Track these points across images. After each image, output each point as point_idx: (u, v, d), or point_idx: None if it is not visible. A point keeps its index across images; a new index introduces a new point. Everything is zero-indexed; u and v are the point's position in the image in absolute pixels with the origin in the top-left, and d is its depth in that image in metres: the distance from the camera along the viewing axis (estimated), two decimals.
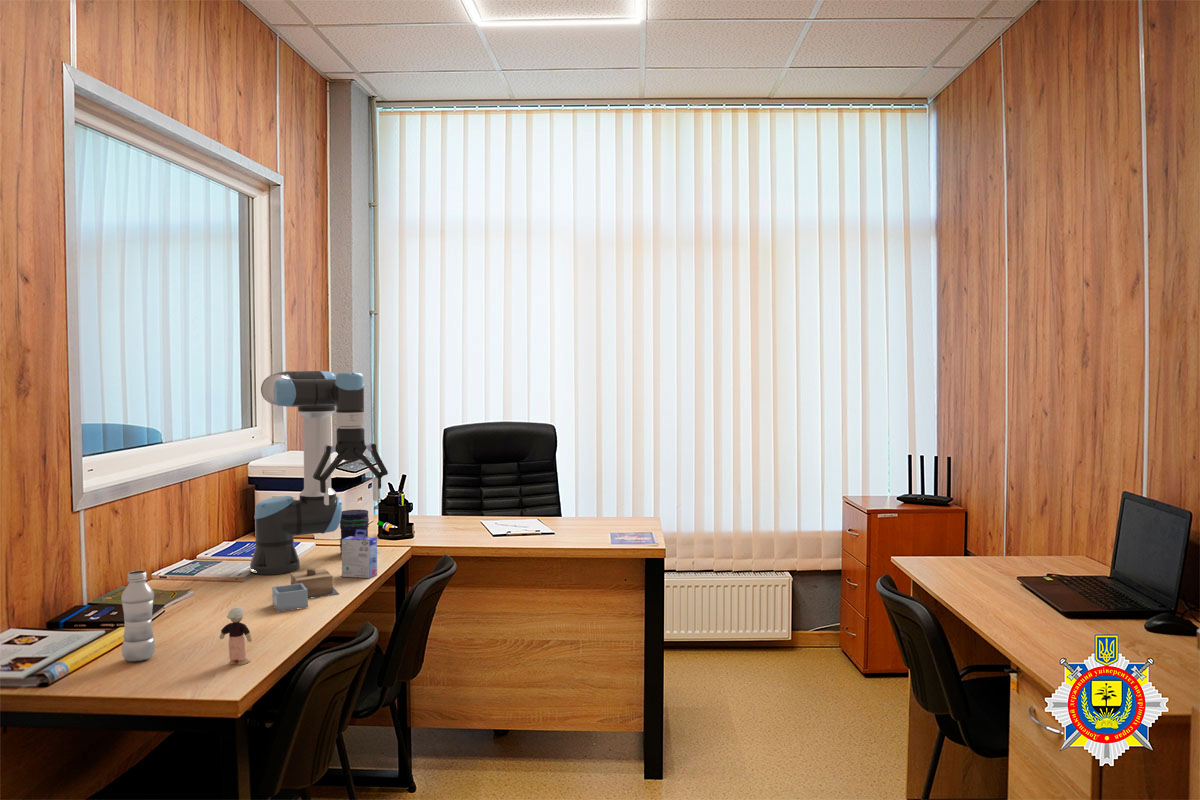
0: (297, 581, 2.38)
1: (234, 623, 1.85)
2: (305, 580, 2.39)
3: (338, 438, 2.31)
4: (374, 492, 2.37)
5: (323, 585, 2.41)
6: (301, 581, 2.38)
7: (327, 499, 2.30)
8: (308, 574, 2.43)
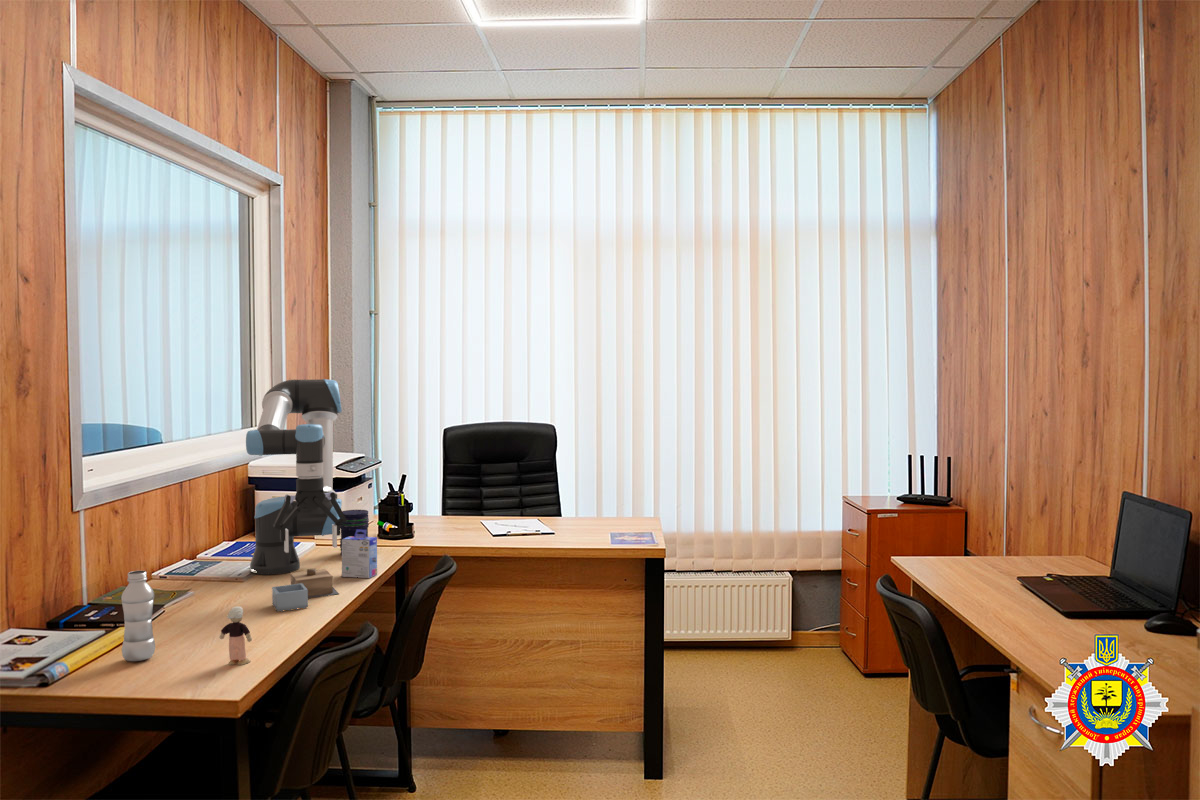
0: (297, 581, 2.38)
1: (234, 623, 1.85)
2: (305, 580, 2.39)
3: (298, 488, 2.40)
4: (333, 538, 2.47)
5: (323, 585, 2.41)
6: (301, 581, 2.38)
7: (287, 547, 2.39)
8: (308, 574, 2.43)
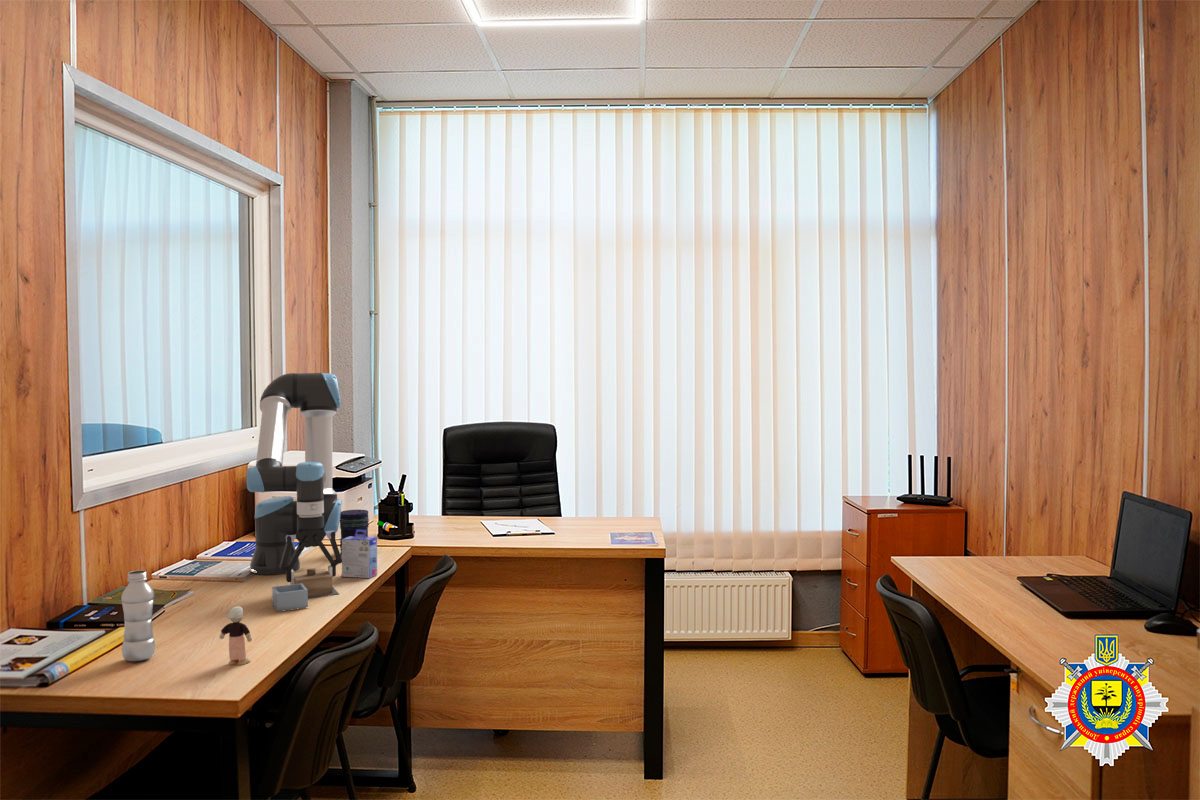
0: (297, 581, 2.38)
1: (234, 623, 1.85)
2: (305, 580, 2.39)
3: (298, 526, 2.41)
4: None
5: (323, 585, 2.41)
6: (301, 581, 2.38)
7: None
8: (308, 574, 2.43)
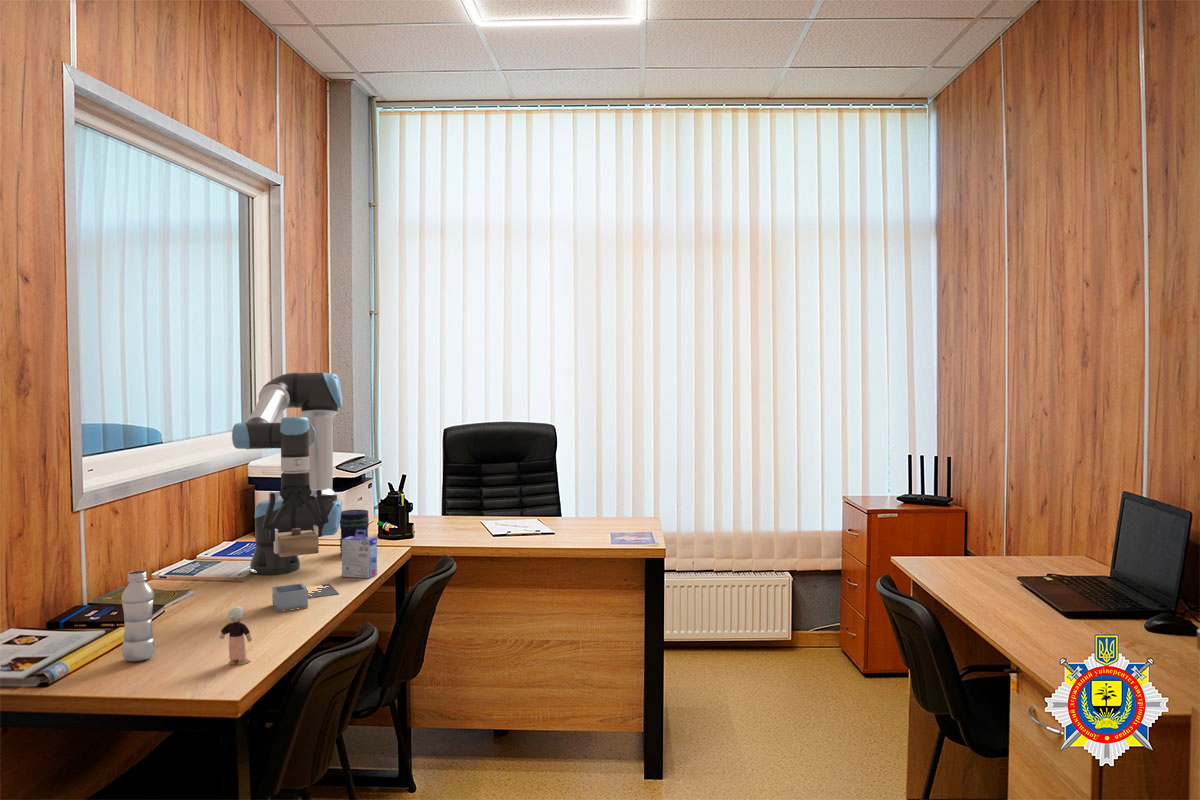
0: (281, 539, 2.27)
1: (234, 623, 1.85)
2: (289, 539, 2.28)
3: (283, 483, 2.30)
4: None
5: (309, 544, 2.30)
6: (285, 540, 2.27)
7: (276, 548, 2.29)
8: (293, 533, 2.32)
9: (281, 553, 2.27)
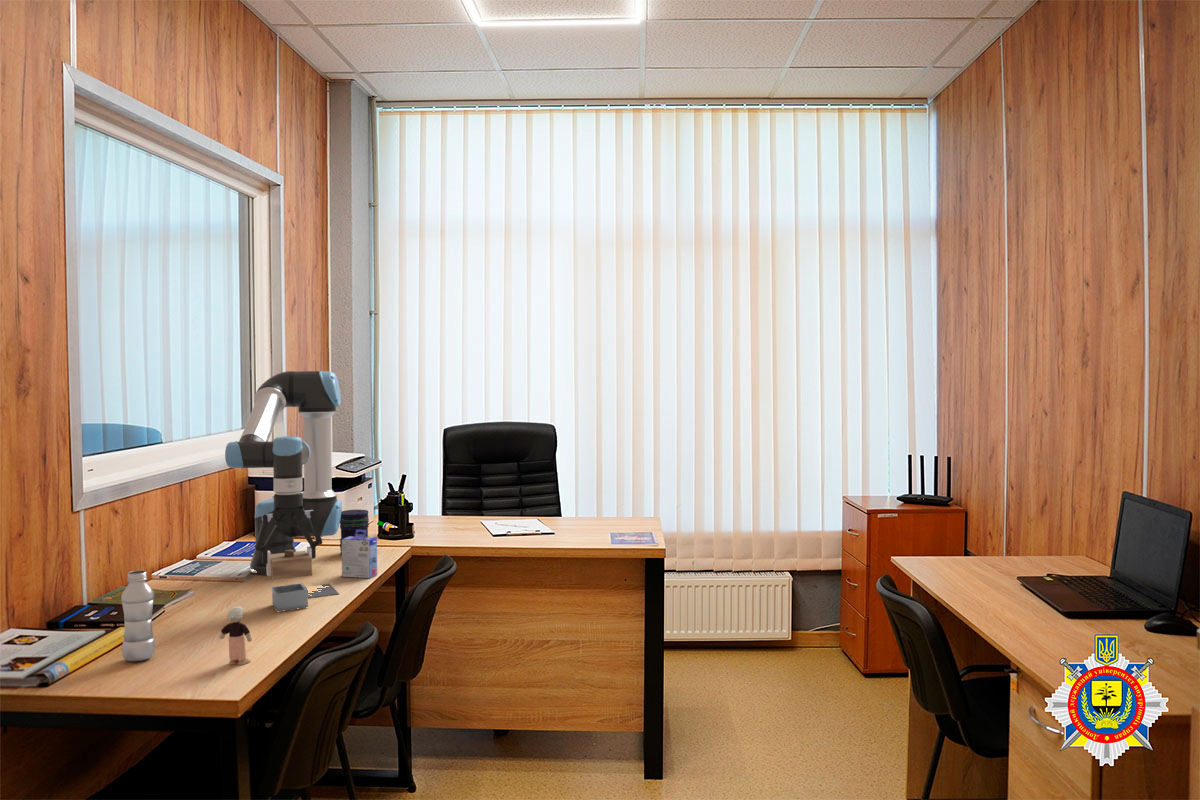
0: (273, 562, 2.23)
1: (234, 623, 1.85)
2: (282, 561, 2.24)
3: (275, 505, 2.26)
4: None
5: (302, 566, 2.26)
6: (278, 562, 2.23)
7: (269, 570, 2.26)
8: (286, 555, 2.28)
9: (273, 576, 2.23)
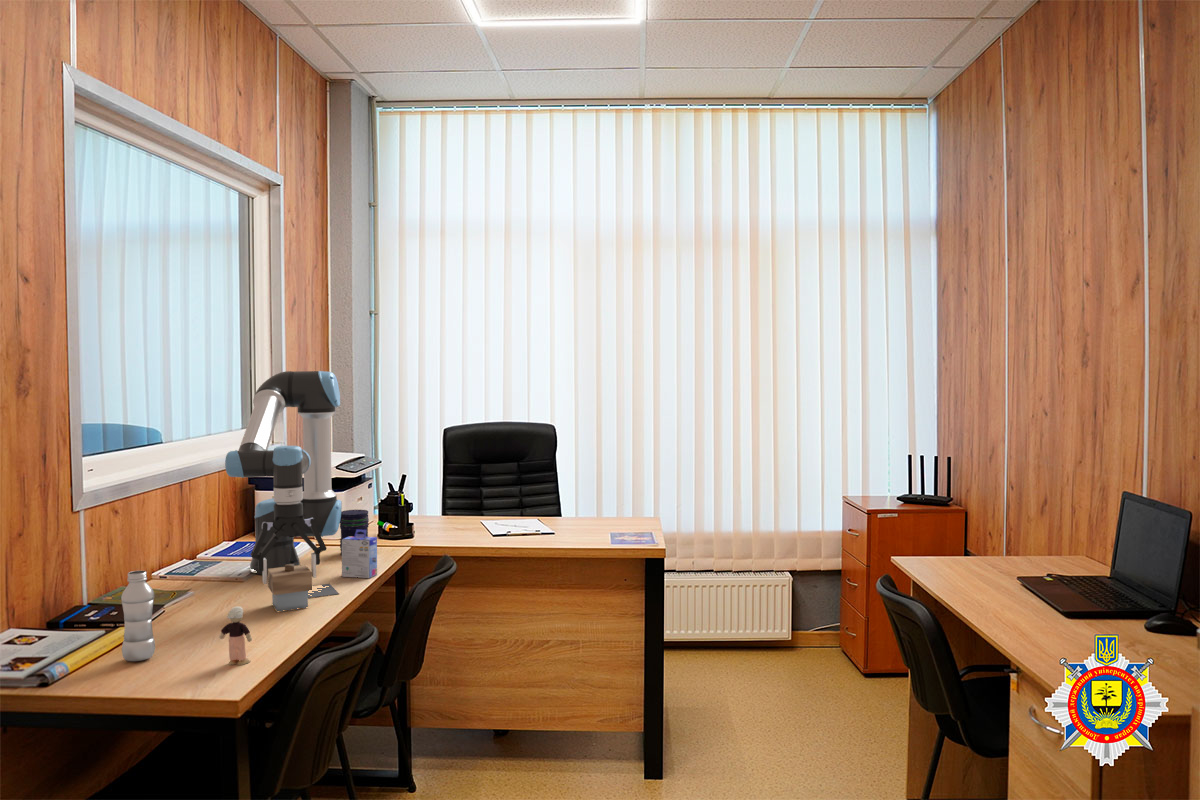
0: (274, 577, 2.23)
1: (234, 623, 1.85)
2: (282, 576, 2.24)
3: (275, 514, 2.26)
4: (312, 568, 2.32)
5: (302, 581, 2.27)
6: (278, 577, 2.24)
7: (265, 577, 2.25)
8: (286, 570, 2.29)
9: (274, 591, 2.23)
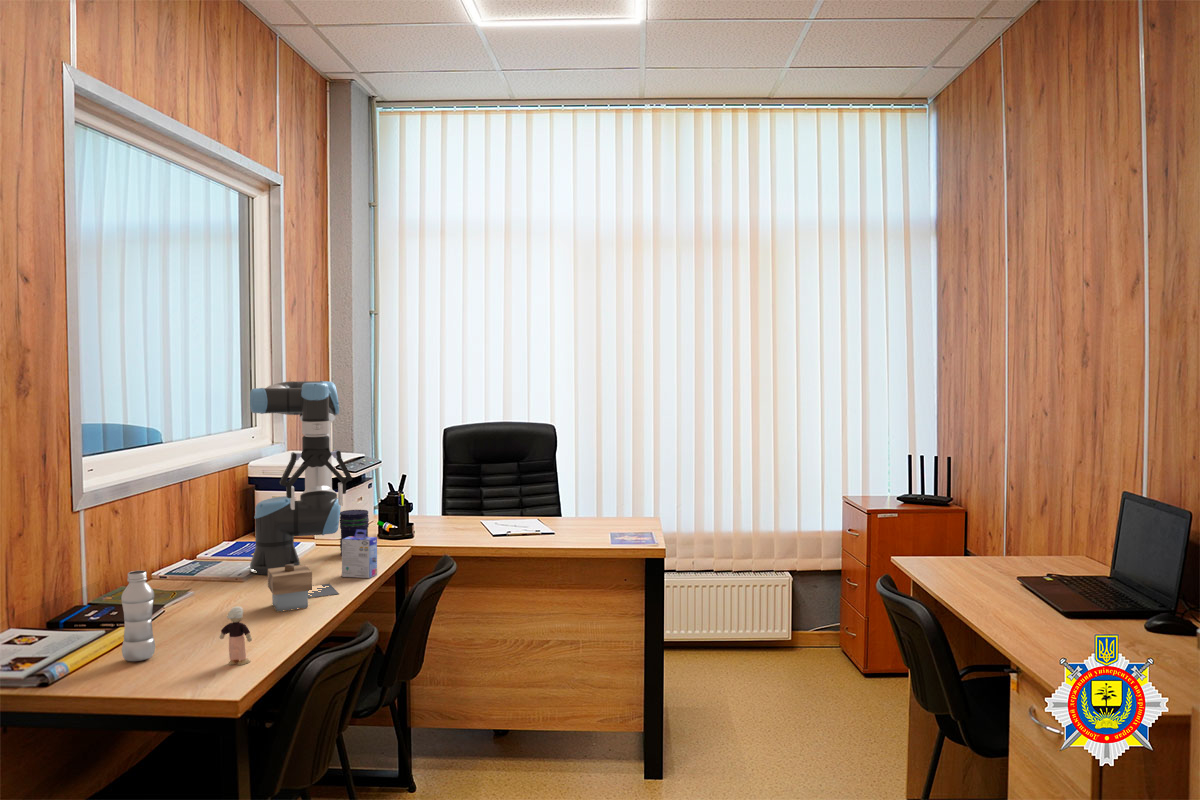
0: (274, 577, 2.23)
1: (234, 623, 1.85)
2: (282, 576, 2.24)
3: (304, 446, 2.41)
4: (339, 497, 2.48)
5: (302, 581, 2.27)
6: (278, 577, 2.24)
7: (293, 504, 2.41)
8: (286, 570, 2.29)
9: (274, 591, 2.23)
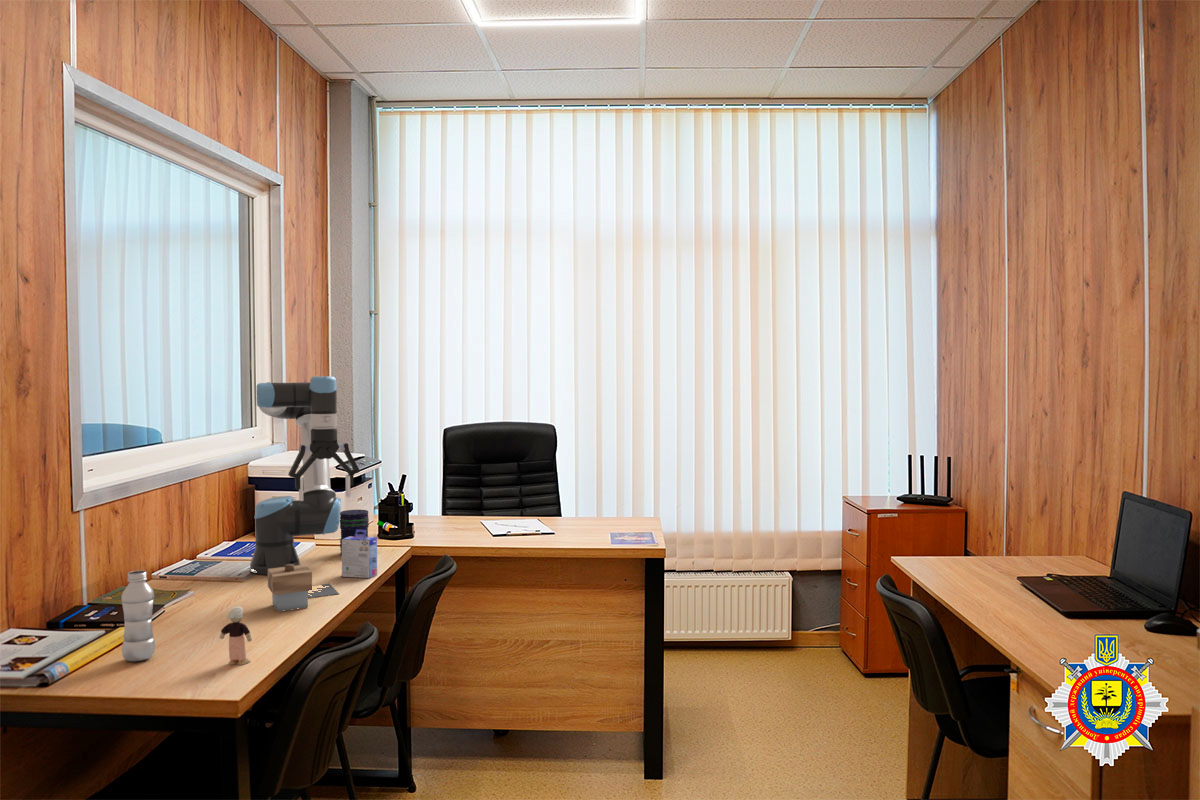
0: (274, 577, 2.23)
1: (234, 623, 1.85)
2: (282, 576, 2.24)
3: (312, 438, 2.46)
4: (346, 488, 2.52)
5: (302, 581, 2.27)
6: (278, 577, 2.24)
7: (302, 495, 2.45)
8: (286, 570, 2.29)
9: (274, 591, 2.23)
